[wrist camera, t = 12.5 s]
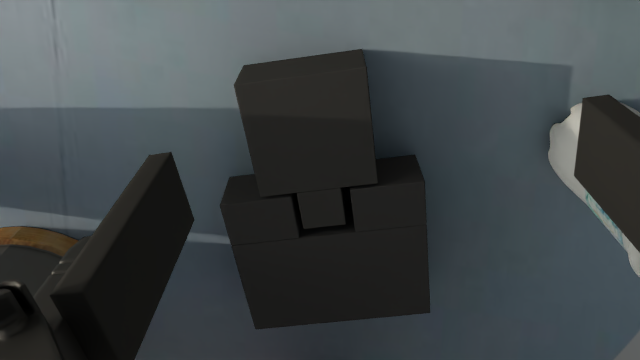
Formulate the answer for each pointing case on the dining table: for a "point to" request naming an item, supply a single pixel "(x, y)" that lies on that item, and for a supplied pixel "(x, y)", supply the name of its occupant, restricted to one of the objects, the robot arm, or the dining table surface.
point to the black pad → (309, 130)
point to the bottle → (564, 165)
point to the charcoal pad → (333, 251)
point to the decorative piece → (31, 254)
